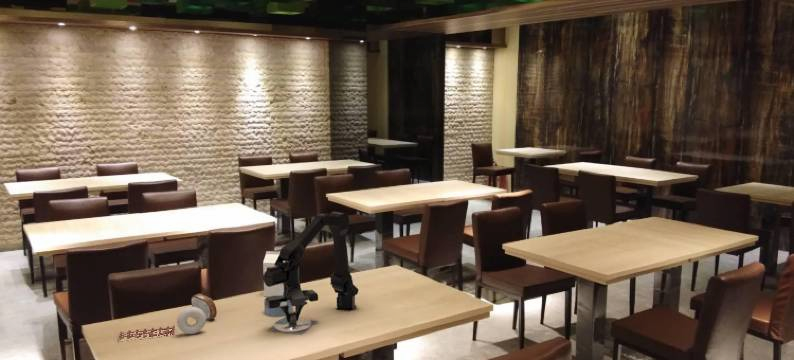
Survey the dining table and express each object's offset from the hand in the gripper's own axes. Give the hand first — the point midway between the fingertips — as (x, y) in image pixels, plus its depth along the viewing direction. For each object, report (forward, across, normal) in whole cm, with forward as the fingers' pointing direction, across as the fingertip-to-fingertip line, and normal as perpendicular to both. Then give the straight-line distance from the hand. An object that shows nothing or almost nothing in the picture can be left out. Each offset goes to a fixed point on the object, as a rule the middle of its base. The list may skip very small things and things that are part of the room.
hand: (292, 321), depth 228 cm
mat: (+2, 0, 0) cm, 2 cm away
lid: (+2, 0, 0) cm, 2 cm away
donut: (+2, -34, +11) cm, 36 cm away
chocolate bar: (+3, -49, +18) cm, 52 cm away
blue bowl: (+2, 0, +17) cm, 17 cm away
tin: (+2, -27, +27) cm, 38 cm away
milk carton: (+2, +6, +40) cm, 40 cm away
